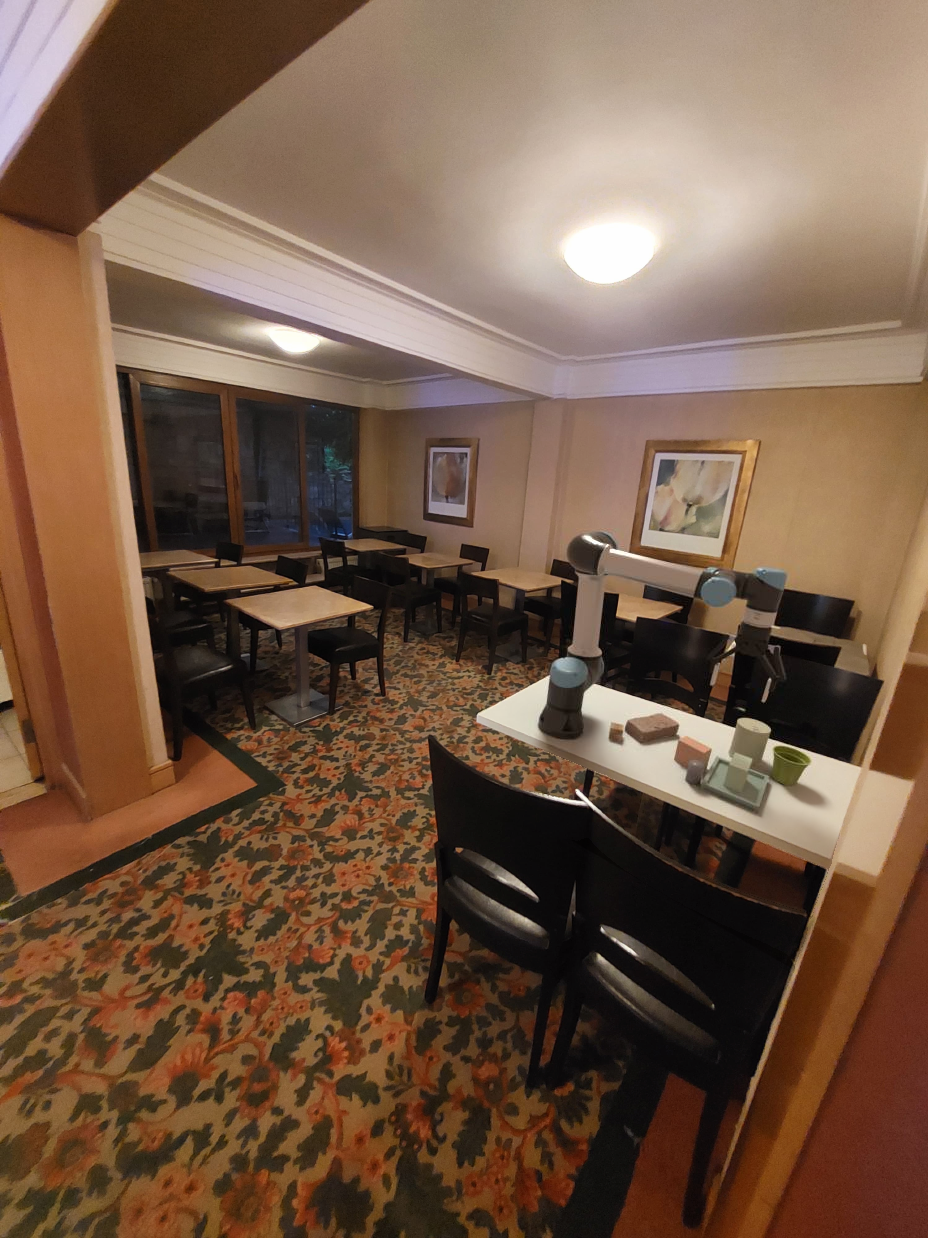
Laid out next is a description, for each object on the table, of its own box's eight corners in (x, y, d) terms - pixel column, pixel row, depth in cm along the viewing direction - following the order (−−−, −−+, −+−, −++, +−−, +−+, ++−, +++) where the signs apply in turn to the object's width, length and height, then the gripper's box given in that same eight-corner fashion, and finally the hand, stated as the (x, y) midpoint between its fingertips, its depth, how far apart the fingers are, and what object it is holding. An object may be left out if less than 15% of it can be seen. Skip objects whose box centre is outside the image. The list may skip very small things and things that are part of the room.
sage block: (723, 785, 130) (729, 764, 128) (729, 773, 136) (734, 752, 134) (741, 792, 128) (747, 771, 126) (746, 779, 134) (752, 759, 132)
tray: (700, 788, 130) (701, 782, 129) (715, 761, 143) (716, 756, 143) (757, 813, 122) (759, 807, 121) (767, 782, 135) (769, 776, 134)
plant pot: (788, 770, 141) (796, 746, 139) (810, 791, 132) (819, 765, 130) (758, 769, 141) (765, 744, 138) (778, 789, 132) (787, 763, 129)
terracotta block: (698, 773, 137) (704, 753, 135) (673, 759, 143) (678, 739, 141) (706, 768, 140) (712, 748, 138) (681, 755, 146) (686, 735, 144)
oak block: (608, 738, 152) (610, 728, 151) (609, 732, 156) (611, 722, 155) (621, 741, 151) (623, 730, 150) (621, 735, 155) (623, 725, 154)
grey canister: (683, 781, 133) (687, 763, 131) (687, 775, 136) (691, 758, 134) (698, 788, 130) (702, 770, 128) (701, 781, 133) (706, 763, 131)
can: (731, 761, 144) (740, 727, 141) (726, 746, 153) (735, 713, 149) (764, 769, 141) (775, 734, 138) (757, 753, 150) (767, 720, 146)
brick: (640, 743, 151) (643, 731, 150) (622, 730, 158) (625, 718, 157) (678, 736, 157) (681, 723, 156) (659, 723, 165) (662, 711, 163)
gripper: (705, 614, 134) (689, 681, 141) (809, 639, 119) (785, 712, 125) (712, 610, 140) (696, 674, 146) (812, 633, 124) (789, 703, 131)
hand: (737, 692), depth 136 cm, fingers open, 13 cm apart
